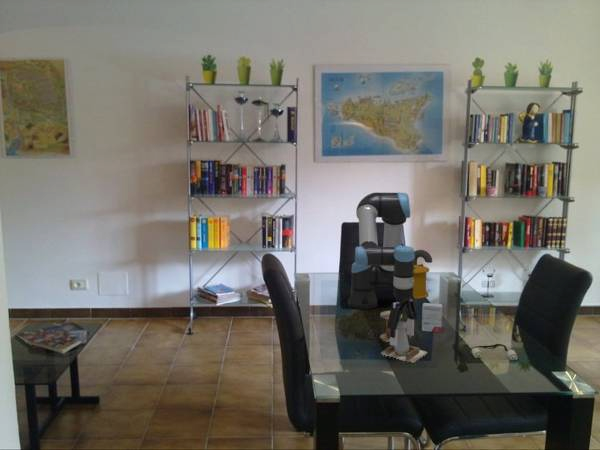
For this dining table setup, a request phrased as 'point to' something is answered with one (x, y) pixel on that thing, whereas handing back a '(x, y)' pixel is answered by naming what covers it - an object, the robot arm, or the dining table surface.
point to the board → (411, 356)
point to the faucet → (422, 254)
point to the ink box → (432, 317)
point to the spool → (420, 282)
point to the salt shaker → (402, 339)
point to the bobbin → (386, 335)
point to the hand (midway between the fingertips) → (402, 339)
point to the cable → (510, 353)
